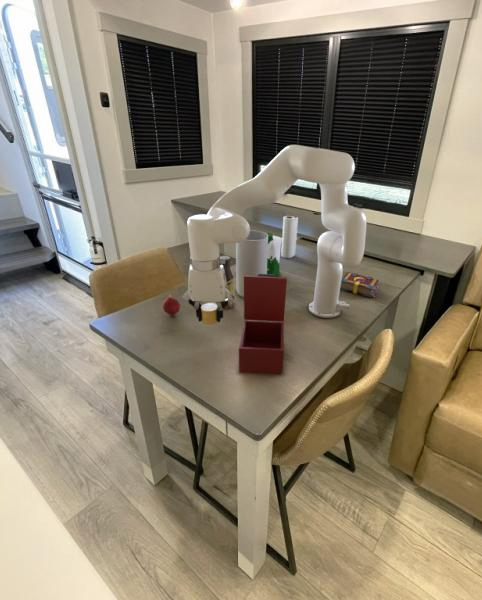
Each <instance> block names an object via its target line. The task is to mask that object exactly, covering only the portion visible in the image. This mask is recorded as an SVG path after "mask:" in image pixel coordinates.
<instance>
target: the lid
mask: <svg viewBox="0 0 482 600" xmlns="http://www.w3.org/2000/svg"><path fill="white" fill-rule="evenodd" d="M287 283H288V277H284V276H283V277H282V276H275V277H274V274H258V276H248V275H244V297H243V321H244V320H248V321H269V322H285V313H286V311H285V310H286V300H287V299H286V297H287Z"/></svg>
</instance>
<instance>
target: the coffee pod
mask: <svg viewBox="0 0 482 600" xmlns="http://www.w3.org/2000/svg"><path fill="white" fill-rule="evenodd" d="M201 305H202V306H201V315H202V321H201V322H202V323H203V324H204V325H215V324H217V323H218V322H217V309H218V307H217V304H216V303H215V302H206V303H203V304H201Z"/></svg>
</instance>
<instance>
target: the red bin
mask: <svg viewBox="0 0 482 600" xmlns="http://www.w3.org/2000/svg"><path fill="white" fill-rule="evenodd" d="M284 322H285V321H284ZM284 322H282V321H261V320H244V319H243V326H242V330H241V331H242V332H241V335H240V340H239V346H238V373H242V374H245V373H246V374H266V375H283V369H284V368H283V366H284V352H285V346H284V345H285V323H284Z"/></svg>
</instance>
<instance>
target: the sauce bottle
mask: <svg viewBox="0 0 482 600" xmlns="http://www.w3.org/2000/svg"><path fill="white" fill-rule="evenodd" d="M220 257H221V258H222V259H225V264H221V265H223V267H224V271H225V276H226V283H227V289H228V291H229V292H230V293H231V294H232V295H233V296H234V295H235V294H234V290H235V289H234V276H233V272H232V270H231V257H230V256H228V255H220ZM234 297H235V296H234ZM225 299H227V297H226V296H225ZM234 301H235V300H234ZM234 301H232V302H231V303H229V304H228V305H227V306H226V307H224V308H223V309H230V308H232V307H233V306H234Z"/></svg>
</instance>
